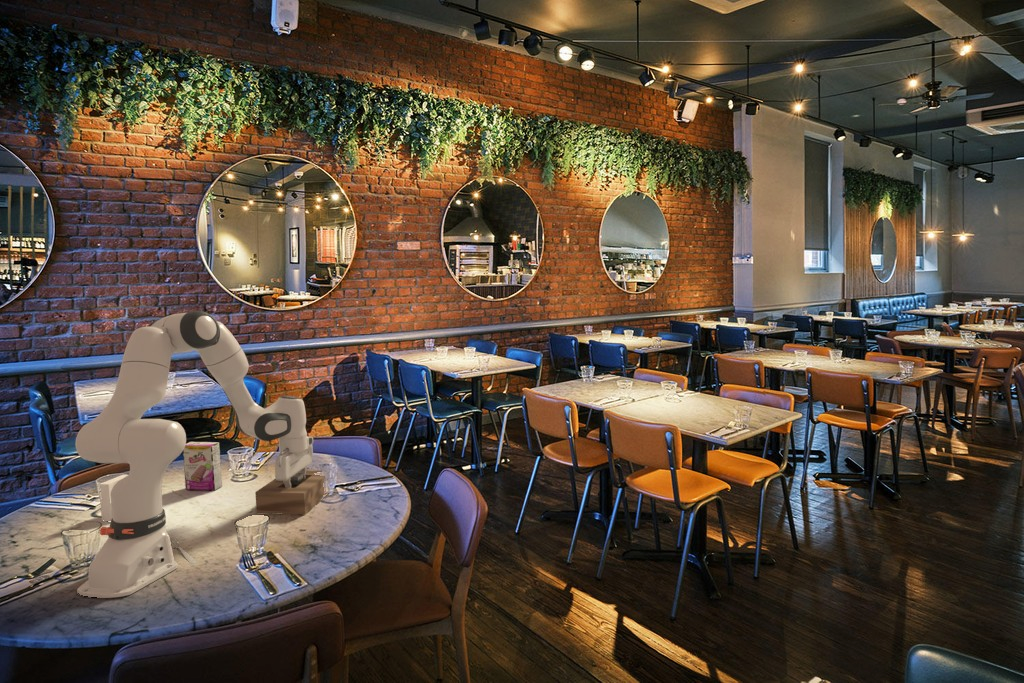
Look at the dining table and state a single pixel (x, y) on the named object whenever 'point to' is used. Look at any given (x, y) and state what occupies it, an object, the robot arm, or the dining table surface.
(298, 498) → the walnut well
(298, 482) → the gray rectangular block
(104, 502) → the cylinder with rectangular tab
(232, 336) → the robot arm
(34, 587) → the dining table surface
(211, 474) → the candy bar box
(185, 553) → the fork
